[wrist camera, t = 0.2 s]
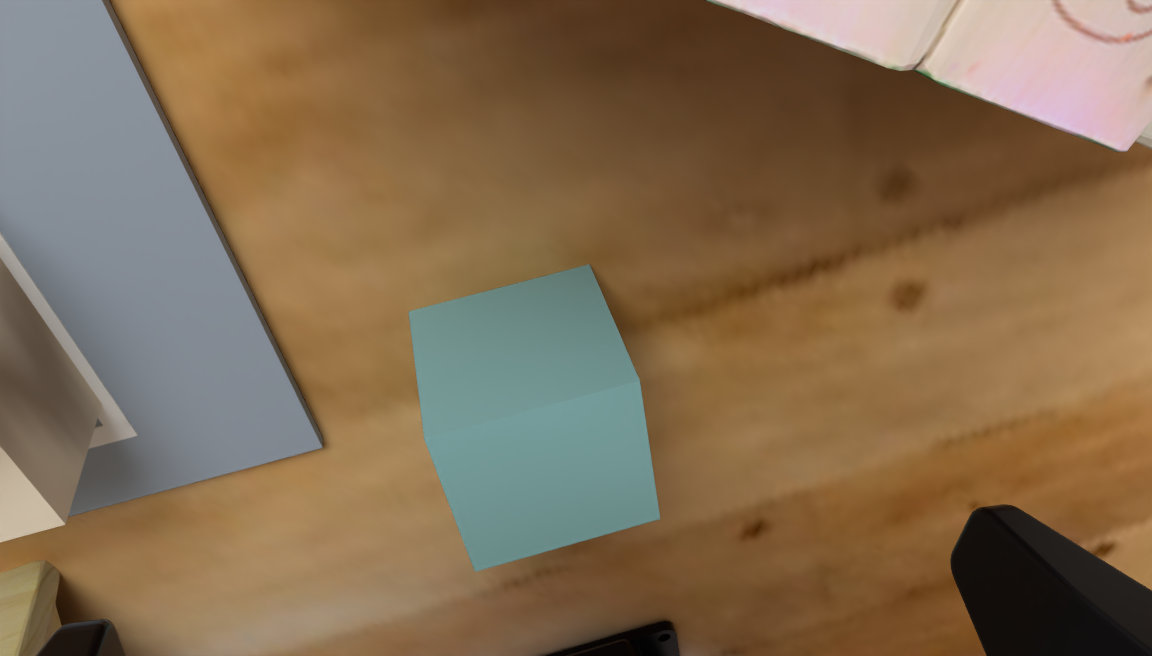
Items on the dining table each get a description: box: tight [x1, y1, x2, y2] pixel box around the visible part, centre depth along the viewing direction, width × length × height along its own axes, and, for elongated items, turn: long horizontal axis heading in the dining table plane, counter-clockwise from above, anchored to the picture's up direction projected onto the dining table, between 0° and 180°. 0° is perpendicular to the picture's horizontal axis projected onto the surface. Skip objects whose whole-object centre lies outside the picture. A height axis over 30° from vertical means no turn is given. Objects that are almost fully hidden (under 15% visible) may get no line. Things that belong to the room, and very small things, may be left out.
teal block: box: [409, 264, 660, 572], centre depth 23 cm, size 5×5×5 cm
